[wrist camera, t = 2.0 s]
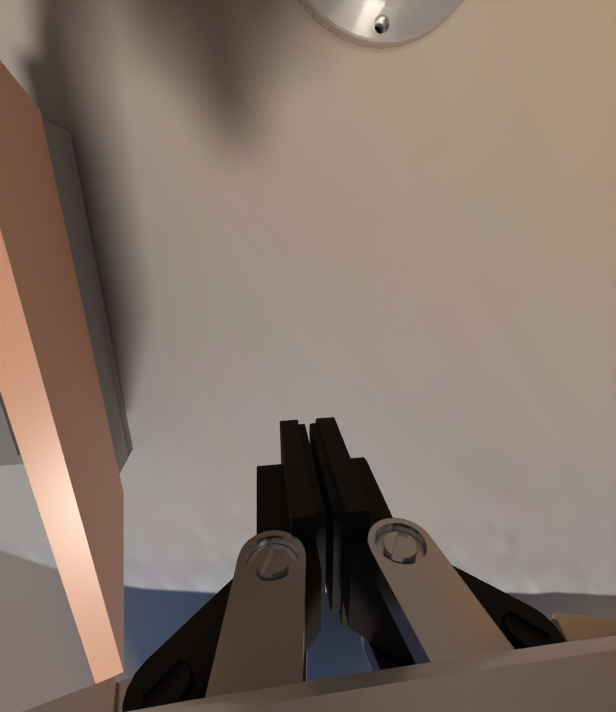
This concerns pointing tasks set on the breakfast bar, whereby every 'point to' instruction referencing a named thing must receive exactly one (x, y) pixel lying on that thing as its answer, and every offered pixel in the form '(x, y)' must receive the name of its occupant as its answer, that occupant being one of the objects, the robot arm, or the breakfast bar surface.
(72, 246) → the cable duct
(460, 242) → the breakfast bar surface
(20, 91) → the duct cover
